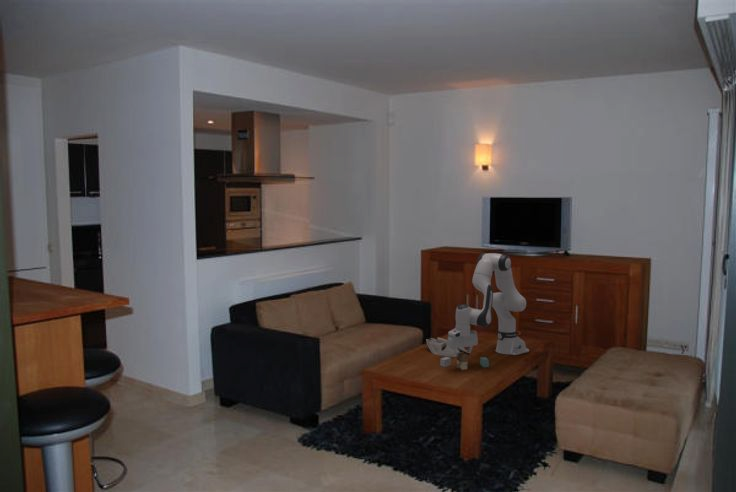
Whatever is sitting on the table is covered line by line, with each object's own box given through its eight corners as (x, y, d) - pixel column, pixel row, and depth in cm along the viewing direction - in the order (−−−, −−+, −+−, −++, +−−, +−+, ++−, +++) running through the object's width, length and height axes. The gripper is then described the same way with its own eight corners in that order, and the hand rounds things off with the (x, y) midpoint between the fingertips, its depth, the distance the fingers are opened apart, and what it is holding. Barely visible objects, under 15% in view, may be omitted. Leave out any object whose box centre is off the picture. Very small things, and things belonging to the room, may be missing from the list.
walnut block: (456, 359, 373) (457, 352, 372) (461, 359, 374) (461, 351, 374) (462, 362, 367) (462, 355, 367) (467, 361, 369) (467, 354, 368)
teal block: (480, 364, 379) (480, 357, 378) (485, 364, 379) (485, 357, 378) (482, 367, 373) (483, 360, 372) (488, 367, 373) (488, 360, 373)
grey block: (446, 363, 380) (446, 356, 379) (450, 365, 377) (450, 357, 377) (440, 366, 376) (440, 358, 375) (444, 367, 373) (444, 360, 373)
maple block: (456, 367, 373) (456, 359, 373) (461, 366, 375) (461, 359, 374) (462, 369, 368) (462, 362, 367) (467, 369, 369) (467, 361, 369)
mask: (436, 332, 423) (474, 340, 403) (436, 345, 424) (473, 353, 404) (419, 337, 408) (457, 346, 388) (418, 351, 409) (456, 360, 389)
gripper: (473, 328, 376) (473, 350, 378) (445, 332, 367) (445, 355, 369) (480, 330, 371) (479, 353, 372) (451, 335, 362) (451, 357, 363)
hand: (462, 354), depth 370 cm, fingers open, 8 cm apart
